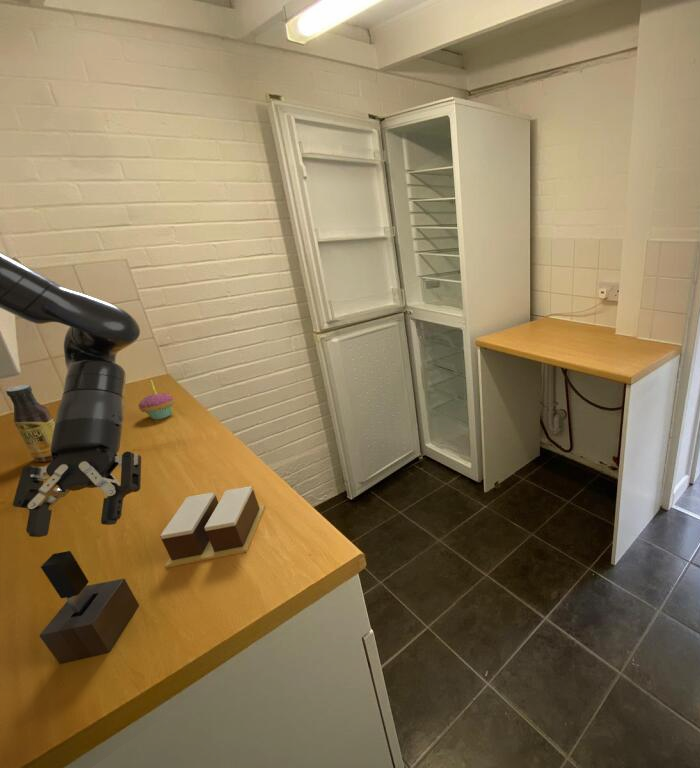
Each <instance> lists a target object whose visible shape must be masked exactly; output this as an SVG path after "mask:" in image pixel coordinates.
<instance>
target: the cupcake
mask: <svg viewBox="0 0 700 768" xmlns="http://www.w3.org/2000/svg"><path fill="white" fill-rule="evenodd" d="M149 384H150V387H151V389H152V394H151V395H147V396H145V397H143V398H142V399H141V400H140V402H139V403H138V409H139V410H140V411H141V412H142V413H146V414H147V415H148V416H149V417H150V418H151V419H152V420H161V419H165V418H167V417H169V416H171V415H172V405H174V404H175V400H174V397H173V395H170V394H168V393H160V392H159V393H158V392H157V390H156V387H155V384H154V381H153V380H152V378H151V377H150V378H149Z"/></svg>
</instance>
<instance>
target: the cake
mask: <svg viewBox="0 0 700 768" xmlns="http://www.w3.org/2000/svg"><path fill="white" fill-rule="evenodd" d="M265 509H266V504H262V505H259V502H258V499H257V497H256V493H255V491H254V487H253V486H252V485H250V486H244V487H238V488H237V487H236V488H231V489H226V490H225V491H224V492H223V494H222V496H221V497H220V500H219V501H218V498H217V496H216V493H215V492H214V491H213V492H208V493H202V494H196V495H189V496H186V497H185V499H184V501H183V502H182V503H181V505H180V506H179V508H178V509H177V511H175V514H174V515H173V516H172V518H171V519H170V521H169V522H168V524H167V525H166V526H165V528H164V529H163V530H162V532H161V534H160V539H161V541H162V544H163V546H164V548H165V549H166V551H167V554H168V556H169V558H168V560H167V561H166V562H165V565H164V568H165V569H168V568H173V567H178V566H179V567H180V566H184V565H190V564H194V563H200V562H203V561H209V560H214V559H218V558H219V559H220V558H224V557H229V556H233V555H240V554H244V553H247V552H248V550H249V548H250V545H251V543H252V541H253V538H254V536H255V533H256V530H257V528H258V526H259V524H260V521H261V519H262V517H263V514H264V511H265Z"/></svg>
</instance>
